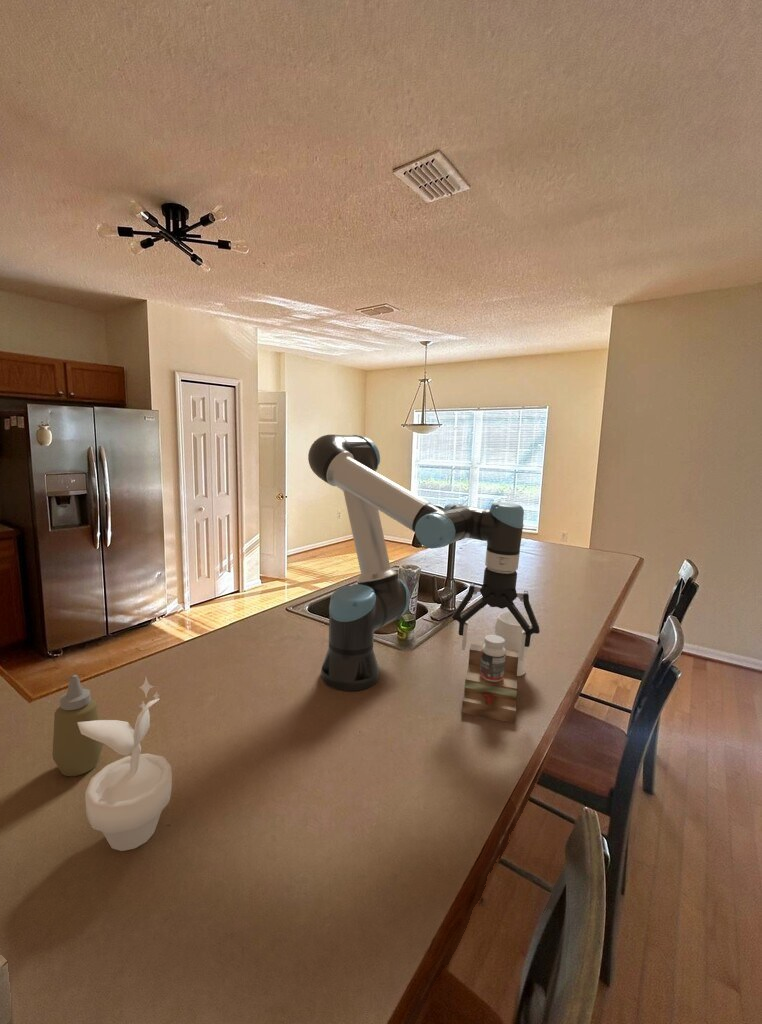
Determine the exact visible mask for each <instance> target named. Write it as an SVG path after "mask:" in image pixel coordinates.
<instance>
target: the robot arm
mask: <svg viewBox="0 0 762 1024" xmlns="http://www.w3.org/2000/svg"><path fill="white" fill-rule="evenodd" d="M307 460H308V464H309V468H310V469H311V471H312V472H313V473H314V475H316V476H317V477H318V478H319V479H321V480H323V482H324V483H326V484H328V485H330V486H331V487H336V488H338V489H340V490H341V491H342V492H343V495H344V500H345V505H346V510H347V515H348V519H349V523H350V528H351V533H352V536H353V537H352V538H353V542H354V548H355V552H356V557H357V560H358V566H359V570H360V575H359V577H358V578H357V580H356V582H357V584H355V583H354V584H352V585H349V584H347V585H345V586H341V587H340V588H339V587H338V588H337V589H336V590H335V591H334V592H332V594H331V596H330V601H329V605H328V613H329V614H328V615H329V616H328V622H329V623H328V648H327V651H326V654H325V657H324V660H323V662H322V665H321V671H320V675H321V680H322V682H323V683H324V684H325V685H327V686H328V687H331V688H332V689H335V690H339V691H347V692H355V691H356V692H357V691H363V690H365V689H368V688H370V687H373V685H375V684H376V683H377V682H378V680H379V677H380V675H379V671H380V670H379V669H380V668H379V665H378V661H377V657H376V654H375V650H374V638H375V636H374V635H375V631H377V630H379V629H381V628H383V627H385V626H387V625H388V624H390V623H394V622H395V621H398V619H400V618H401V617H403V615H404V614H406V612H407V610H408V609H409V606H410V603H411V593H410V590H409V587H408V586H407V584H406V583H404V581H403V580H402V579H400V578H399V575H398V571H396V570H395V569H393V567H391V563H390V559H389V558H390V557H389V553H388V549H387V546H386V539H385V536H384V530H383V526H382V521H381V517H380V513H381V512H382V513H383V514H385V515H387V516H388V517H390V518H391V519H393V520H395V521H396V522H397V523H400V524H401V525H402V526H404V527H405V528H407V529H409V530H411V531H413V532H414V533H415V536H416V539H417V540H418V542H419V543H420V545H421V546H423V547H425V548H427V549H432V550H433V549H438V548H440V549H441V548H443V547H446V546H449V545H451V544H453V543H455V542H456V543H457V542H459V541H461V540H464V539H474V540H479V541H482V542H483V541H485V542H486V550H485V561H484V565H485V568H484V572H483V578H482V579H483V580H482V581H483V582H482V585H481V586H480V585H476V584H475V583H474V582H471V583H470V584H469V588H468V591H467V593H466V594H465V596H463V599H462V600H461V601H460V604H459V605H458V606H457V607H456V609H455V611H454V612H453V614H452V620H453V621H457V622H458V625H459V626H458V635H459V636H462V643H461V650H462V651H466V646H467V638H468V637H467V635H468V627H469V620H470V619H471V618H472V617H473V616H474V615H476V614H477V613H478V612H479V611H481V609H483V608H485V607H486V606H487V605H488V606H489V607H490V608H498V609H503V610H504V609H505V608H507V609H508V612H511V613H512V614H513V616H514V617H515V618H516V620H517V621H518V623H519V624H520V626H521V627H522V628H523V630H522V637H521V645H520V653H519V660H520V661H523V654H524V646H525V647H529V645H530V638H531V635H532V634H533V633H535V635H537V634H540V626H539V623H538V621H537V618H536V616H535V613H534V609H533V607H532V606H531V603H530V600H529V599H530V594H529V591H528V590H524V591H517V590H516V589H517V588H516V587H517V582H518V581H517V579H518V572H517V570H519V562H520V552H521V543H522V538H523V537H522V536H523V529H524V526H525V525H524V514H525V512H524V508H523V506H521V505H520V504H517V503H511V502H505V501H504V502H501V501H499V502H498V501H497V502H493V503H492V504H491V505H490V509H486V508H481V507H479V508H478V507H474V506H468V505H463V504H452V503H451V504H450V503H448V504H445V506H444V508H439V507H438V506H436V505H435V504H432V503H431V502H429V501H427V500H426V499H424V498H422V497H421V496H419V495H417V494H415V493H414V492H412V491H410V490H409V489H406V488H404V487H403V486H401V485H400V484H398V483H397V482H394V481H392V480H391V479H389V478H387V477H386V476H384V475H382V474H380V473H379V472H377V470H378V468H379V465H380V463H381V455H380V451H379V448H378V447H377V445H376V443H375V442H374V441H372V439H370V438H369V437H366V436H362V435H357V434H348V435H347V434H346V435H345V434H325V435H322V436H319V437H318V438H317V439H315V440H314V441H313V443H312V444H311V446H310V448H309V450H308V455H307ZM379 511H380V513H379ZM478 593H480V595H481V598H480V599H479V601H477V602H476V603H475V604H473V606H471V607H470V608H469V609H468V610H467V611H465V612H464V613H463V614H462V612H463V611H464V610H465V609H466V607H467V605H468V604H469V602H471V600H472V598H473V596H474V595H477V594H478ZM517 598H518V599H519V601H520V602H521V603H523V607H524V609H525V613H526V614H527V616H528V617H529V620H530V622H531V625H532V626H531V627H530V626H529V625H528V623H527V622H526V620H525V619H524V617H523V616H522V615H521V614H522V613H521V612H520V610H519V609H518V608H517V606H516V605H515V603H514V601H515V600H516V599H517Z"/></svg>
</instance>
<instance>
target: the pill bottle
mask: <svg viewBox="0 0 762 1024" xmlns="http://www.w3.org/2000/svg"><path fill="white" fill-rule="evenodd" d="M483 642H484V644H483V645H482V646H483V647H482V652H481V664H480V676H481V677H482V678H483V679H485V680H487V681H491V682H498V681H501V680H502V679H503V676H504V666H505V656H506V650H505V648H504V647H503V646H504V643H505V640H504V638H502V637H500V636H497V635H495V634H487V635H485V637H484V641H483Z"/></svg>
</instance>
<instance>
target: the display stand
mask: <svg viewBox="0 0 762 1024" xmlns="http://www.w3.org/2000/svg"><path fill="white" fill-rule="evenodd" d="M469 647H470V648H469V656H468V665H467V669H466V675H465V680H464V691H463V697H462V701H461V703H462V704H461V713H463V714H467V715H472V716H477V717H482V718H487V719H492V720H498V721H503V722H509V723H512V724H516V715H517V714H516V713H517V696H518V695H517V694H518V676H517V667H518V651H513V650H507V649H505V650H506V656H505V666H504V676H503V679H502V680H501V681H498V682H491V681H487V680H485V679H483V678H482V677H481V676H480V664H481V652H482V647H483V645H481V644H475V643H470V646H469Z"/></svg>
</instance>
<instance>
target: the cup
mask: <svg viewBox="0 0 762 1024" xmlns="http://www.w3.org/2000/svg"><path fill="white" fill-rule="evenodd" d="M521 615H522V616H523V617H524V619H525V620H526V622H527V623H528V625H529V626H530V627H531V626H532V625H531V622H530V620H529V617H528V614H527V615H526V614H524V613H521ZM496 618H497V619H496V620H495V624H494V635H497V636H500V637H502V638H504V640H505V643H504V646H503V647H504V648H505V649H507V650H513V651H518V667H517V677H522V676H523V675H525V674H526V671H527V670H526V657H527V653H528V651H529V650H530V649H531V647H532V645H533V643H534V640H535V638H536V636H535V635H536V633H533V634H532V635H531V638H530V645H529V647H525V646H524V654H523V661H520V660H519V653H520V645H521V637H522V630H523V628H522V627H521V626H520V624H519V623H518V621H517V620H516V618H515V617H514V616H513V614H512V613H511V612H510V611H508V612H507V611H505V612H501V613H499V614H498V616H497V617H496Z"/></svg>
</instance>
